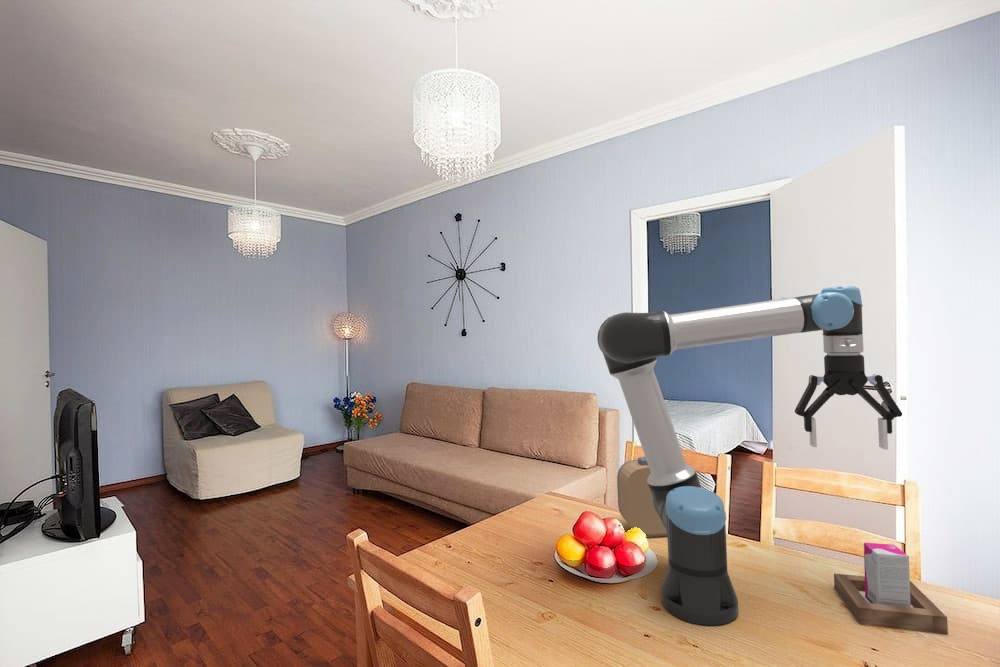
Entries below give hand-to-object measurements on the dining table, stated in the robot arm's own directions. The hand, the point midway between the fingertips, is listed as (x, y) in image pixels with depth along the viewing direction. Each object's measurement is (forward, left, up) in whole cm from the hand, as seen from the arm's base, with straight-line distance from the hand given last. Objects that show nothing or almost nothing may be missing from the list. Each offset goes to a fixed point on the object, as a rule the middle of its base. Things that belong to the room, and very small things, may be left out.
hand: (847, 447), depth 112 cm
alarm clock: (-43, +19, -30) cm, 56 cm away
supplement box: (+2, -12, -29) cm, 32 cm away
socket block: (+2, -12, -30) cm, 33 cm away
